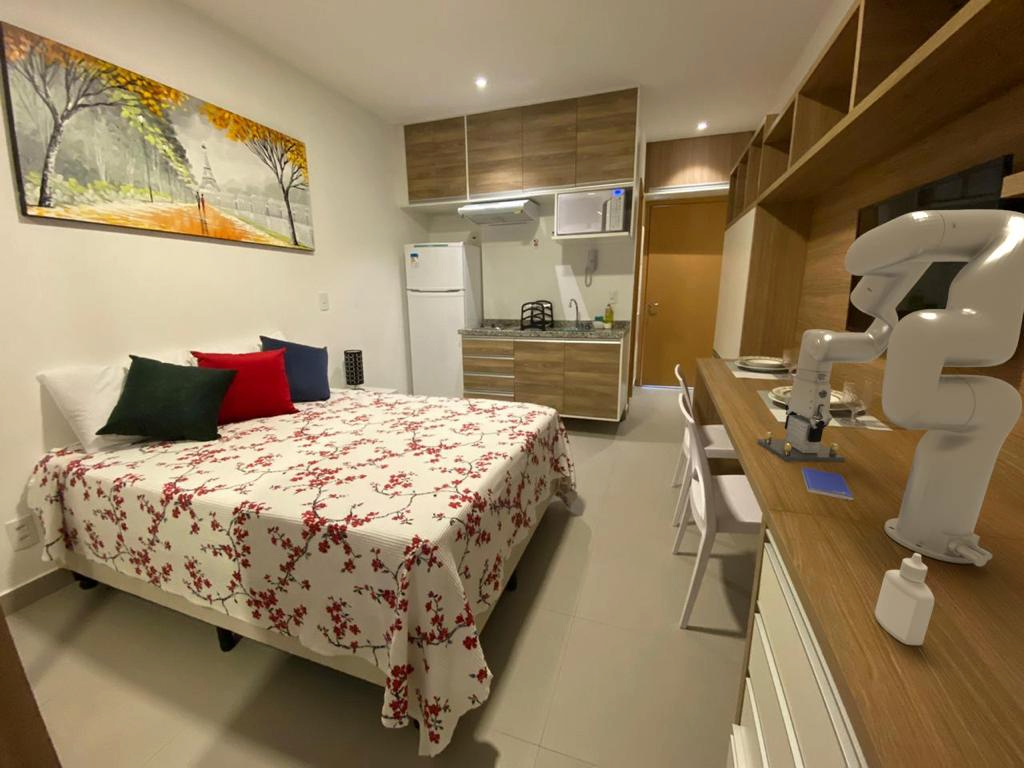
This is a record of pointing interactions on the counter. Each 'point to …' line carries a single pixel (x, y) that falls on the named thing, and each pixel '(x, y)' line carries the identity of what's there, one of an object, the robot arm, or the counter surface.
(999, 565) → the counter surface
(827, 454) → the plate
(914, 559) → the eye dropper bottle
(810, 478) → the hard drive
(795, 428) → the medicine box
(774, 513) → the counter surface
